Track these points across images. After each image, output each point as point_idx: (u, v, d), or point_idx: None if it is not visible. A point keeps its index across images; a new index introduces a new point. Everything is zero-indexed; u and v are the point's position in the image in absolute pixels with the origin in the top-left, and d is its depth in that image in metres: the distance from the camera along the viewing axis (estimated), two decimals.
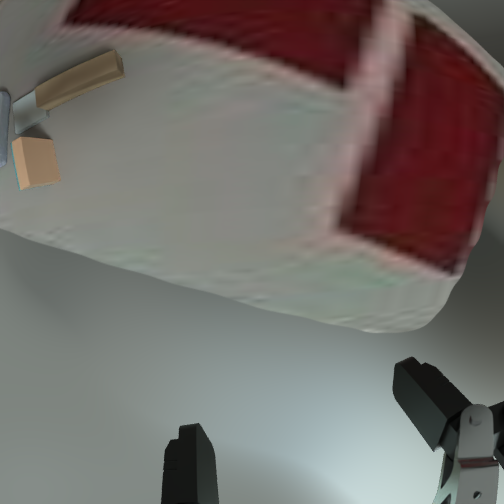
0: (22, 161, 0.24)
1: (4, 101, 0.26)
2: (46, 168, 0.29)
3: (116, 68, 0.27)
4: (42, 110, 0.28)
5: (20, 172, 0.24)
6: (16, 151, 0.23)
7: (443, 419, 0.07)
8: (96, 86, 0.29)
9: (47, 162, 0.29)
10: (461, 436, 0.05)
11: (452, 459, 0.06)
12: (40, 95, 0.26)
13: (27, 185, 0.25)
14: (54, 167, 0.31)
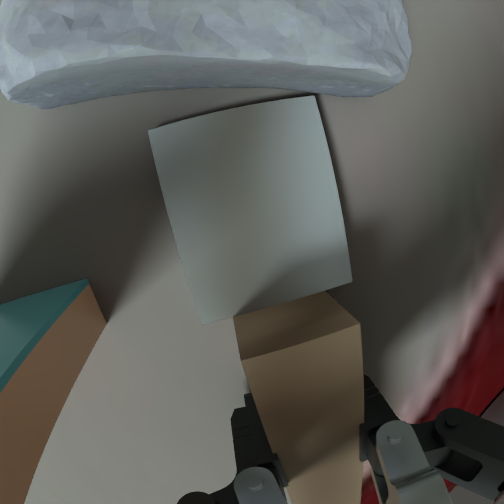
0: None
1: (353, 84, 0.06)
2: None
3: None
4: (233, 300, 0.09)
5: None
6: None
7: (361, 431, 0.07)
8: None
9: None
10: (384, 458, 0.06)
11: (383, 475, 0.07)
12: (303, 371, 0.07)
13: None
14: None
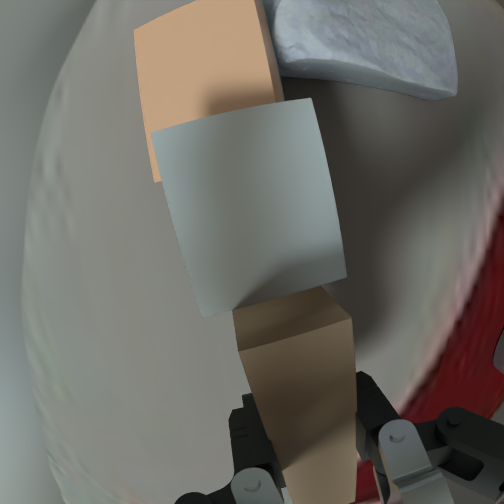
0: (190, 7, 0.09)
1: (435, 95, 0.13)
2: (175, 99, 0.11)
3: None
4: (232, 294, 0.09)
5: None
6: None
7: (363, 430, 0.07)
8: None
9: (194, 111, 0.11)
10: (387, 457, 0.06)
11: (385, 475, 0.07)
12: (297, 362, 0.07)
13: None
14: None
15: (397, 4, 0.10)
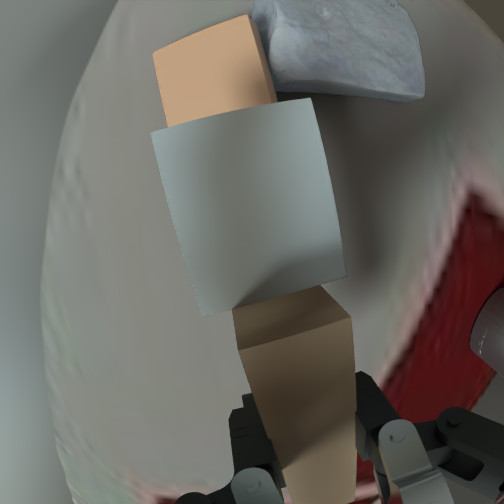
0: (199, 34, 0.13)
1: (405, 98, 0.16)
2: (194, 110, 0.14)
3: None
4: (232, 293, 0.09)
5: None
6: None
7: (363, 430, 0.07)
8: None
9: None
10: (387, 457, 0.06)
11: (385, 475, 0.07)
12: (296, 361, 0.07)
13: None
14: None
15: (370, 23, 0.13)
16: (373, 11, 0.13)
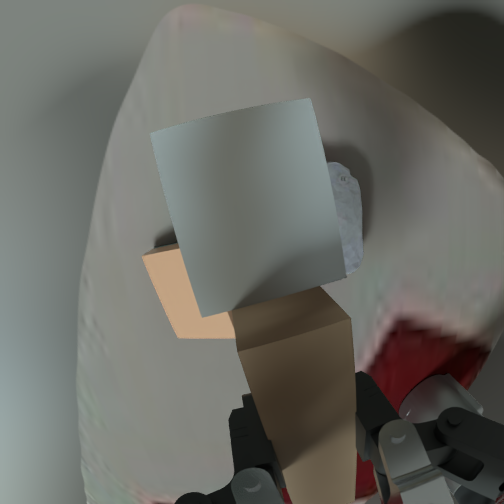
0: (172, 248, 0.22)
1: None
2: (179, 305, 0.23)
3: None
4: (231, 294, 0.09)
5: (166, 247, 0.23)
6: None
7: (363, 430, 0.07)
8: None
9: (191, 313, 0.23)
10: (387, 457, 0.06)
11: (385, 475, 0.07)
12: (296, 363, 0.07)
13: (145, 254, 0.23)
14: (191, 329, 0.24)
15: None
16: None
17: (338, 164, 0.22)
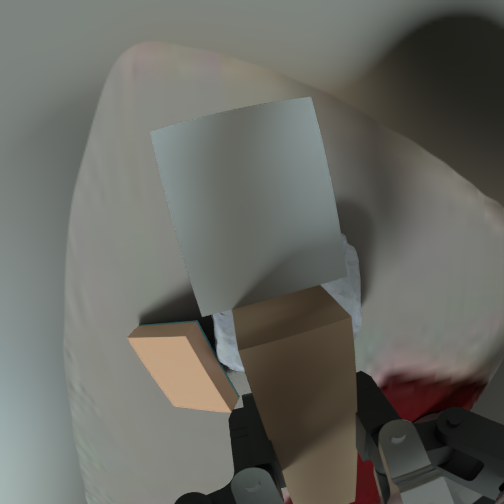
0: (156, 334, 0.20)
1: None
2: (171, 382, 0.21)
3: None
4: (232, 293, 0.09)
5: (150, 329, 0.21)
6: (176, 328, 0.20)
7: (363, 430, 0.07)
8: None
9: (183, 389, 0.21)
10: (387, 457, 0.06)
11: (385, 475, 0.07)
12: (297, 362, 0.07)
13: (131, 334, 0.21)
14: (186, 401, 0.22)
15: None
16: None
17: None
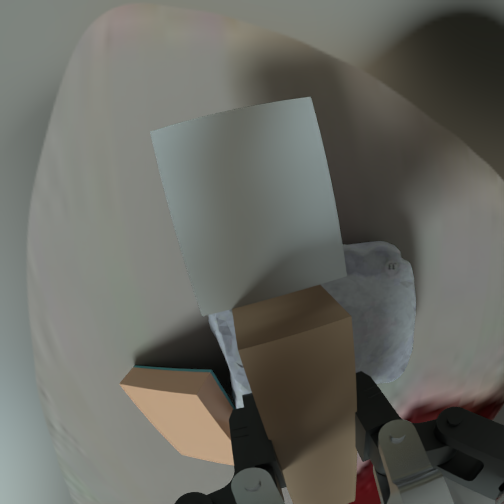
0: (156, 384, 0.14)
1: None
2: (177, 434, 0.16)
3: None
4: (232, 293, 0.09)
5: (149, 375, 0.15)
6: (183, 379, 0.14)
7: (363, 431, 0.07)
8: None
9: (193, 443, 0.16)
10: (386, 457, 0.06)
11: (385, 475, 0.07)
12: (297, 361, 0.07)
13: (124, 380, 0.15)
14: (196, 453, 0.16)
15: (353, 334, 0.14)
16: (360, 310, 0.14)
17: (385, 247, 0.14)
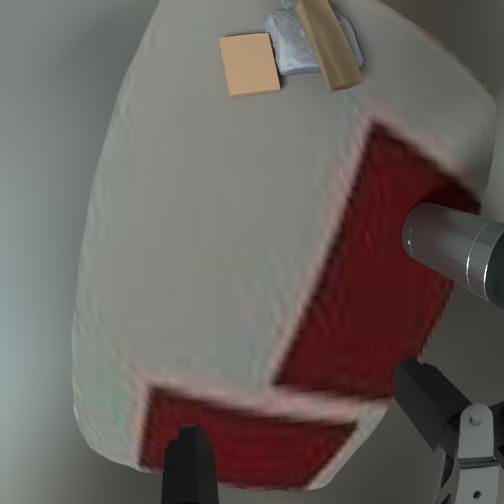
0: (243, 36, 0.28)
1: None
2: (240, 67, 0.29)
3: (342, 84, 0.26)
4: (294, 3, 0.25)
5: None
6: None
7: (443, 419, 0.07)
8: (319, 61, 0.28)
9: (248, 72, 0.30)
10: (461, 436, 0.05)
11: (452, 459, 0.06)
12: (315, 1, 0.23)
13: None
14: (245, 85, 0.30)
15: None
16: None
17: None
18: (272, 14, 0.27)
